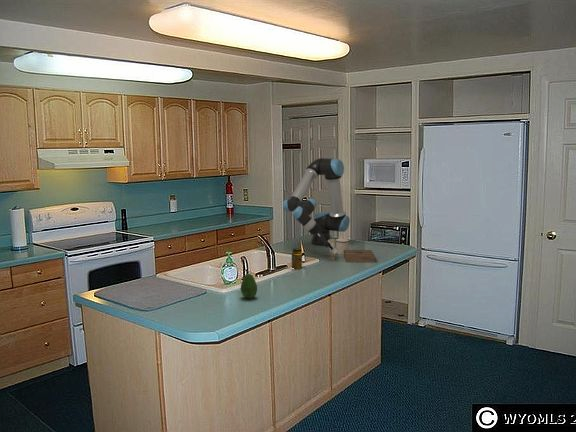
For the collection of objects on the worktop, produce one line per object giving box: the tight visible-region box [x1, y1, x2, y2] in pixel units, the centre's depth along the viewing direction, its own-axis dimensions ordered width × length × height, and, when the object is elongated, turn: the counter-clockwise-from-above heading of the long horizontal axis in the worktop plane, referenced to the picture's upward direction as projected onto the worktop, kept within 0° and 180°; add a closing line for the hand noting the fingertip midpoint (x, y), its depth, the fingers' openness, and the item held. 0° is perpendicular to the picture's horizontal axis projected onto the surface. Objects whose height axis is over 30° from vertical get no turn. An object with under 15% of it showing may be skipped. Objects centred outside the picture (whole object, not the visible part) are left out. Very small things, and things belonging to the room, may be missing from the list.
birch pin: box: [329, 238, 337, 261], centre depth 331 cm, size 4×4×13 cm
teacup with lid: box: [335, 235, 350, 255], centre depth 349 cm, size 12×9×12 cm
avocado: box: [240, 273, 258, 299], centre depth 249 cm, size 8×8×12 cm
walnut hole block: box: [343, 249, 376, 263], centre depth 331 cm, size 16×18×4 cm
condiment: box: [291, 247, 305, 271], centre depth 306 cm, size 7×8×12 cm
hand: (335, 250), depth 330 cm, fingers open, 13 cm apart
